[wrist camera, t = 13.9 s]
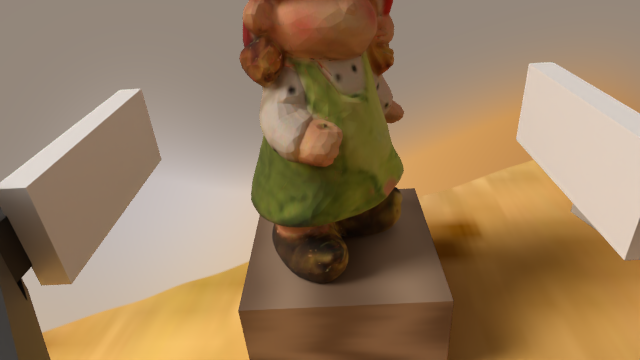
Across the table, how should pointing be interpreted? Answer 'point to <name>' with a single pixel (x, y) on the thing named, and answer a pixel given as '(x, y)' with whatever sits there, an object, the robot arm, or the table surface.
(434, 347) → the pedestal
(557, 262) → the table surface
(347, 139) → the figurine
